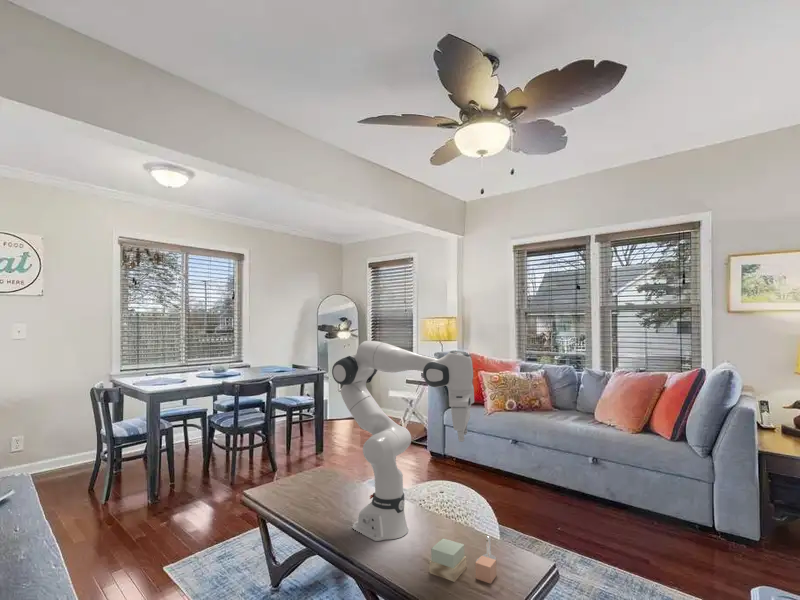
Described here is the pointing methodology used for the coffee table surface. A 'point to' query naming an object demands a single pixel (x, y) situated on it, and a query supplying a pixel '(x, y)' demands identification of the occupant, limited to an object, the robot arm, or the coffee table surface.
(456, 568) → the tower base
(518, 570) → the coffee table surface
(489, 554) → the stand
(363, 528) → the robot arm
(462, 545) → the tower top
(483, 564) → the terracotta block
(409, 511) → the coffee table surface
